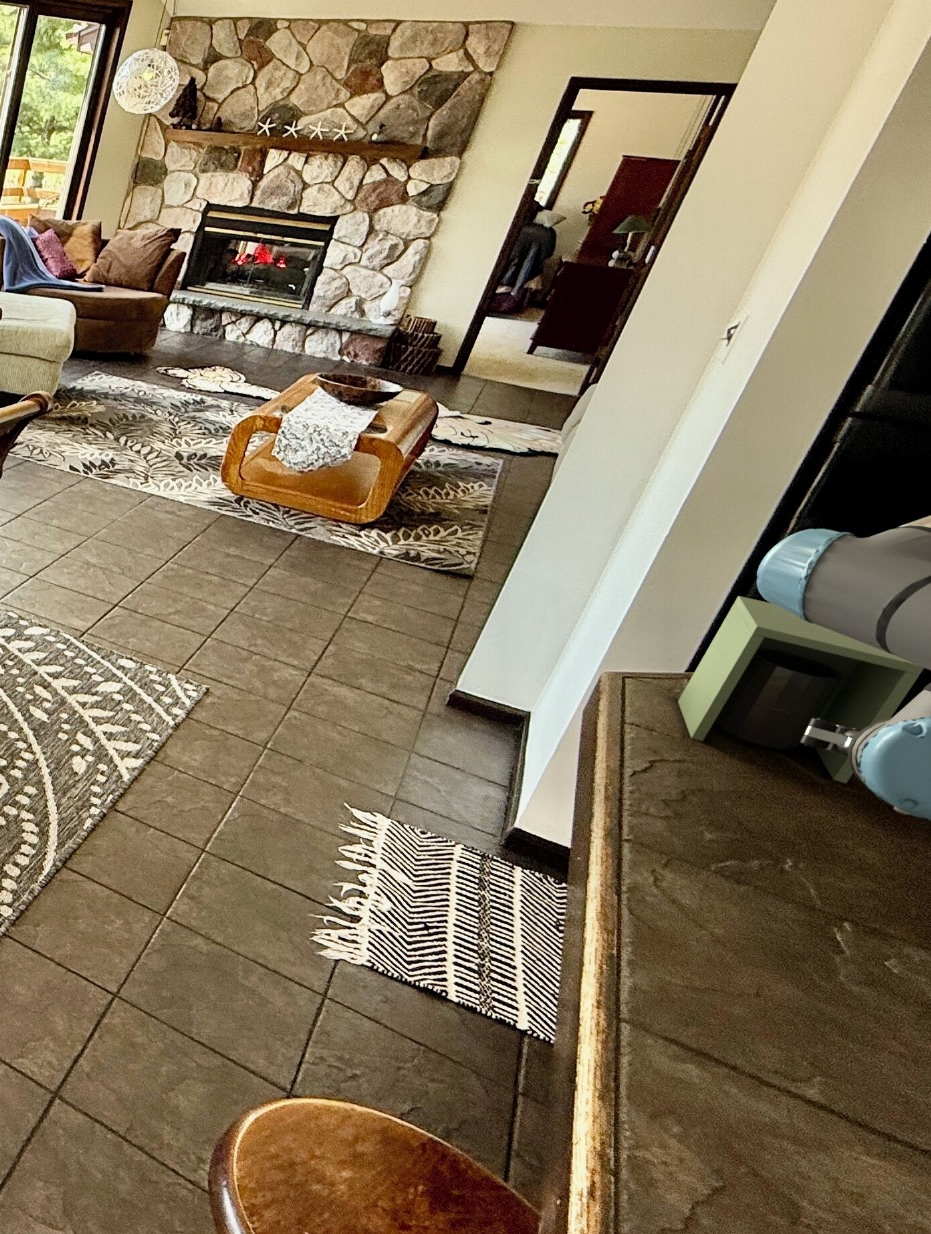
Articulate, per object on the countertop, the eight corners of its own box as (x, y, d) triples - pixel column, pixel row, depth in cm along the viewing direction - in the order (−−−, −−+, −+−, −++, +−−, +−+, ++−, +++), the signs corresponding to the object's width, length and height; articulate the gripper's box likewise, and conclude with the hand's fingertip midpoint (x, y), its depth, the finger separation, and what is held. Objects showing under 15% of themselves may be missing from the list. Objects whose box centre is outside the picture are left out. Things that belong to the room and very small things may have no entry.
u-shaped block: (819, 743, 118) (892, 631, 112) (844, 785, 109) (925, 666, 103) (676, 703, 125) (738, 595, 119) (689, 740, 116) (756, 626, 110)
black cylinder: (787, 737, 119) (834, 663, 115) (801, 761, 114) (850, 685, 110) (704, 713, 123) (746, 642, 119) (714, 736, 118) (758, 662, 114)
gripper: (786, 770, 87) (780, 759, 103) (1028, 842, 78) (980, 818, 94) (825, 690, 86) (812, 691, 102) (1076, 754, 77) (1019, 744, 92)
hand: (893, 752), depth 98 cm, fingers closed
